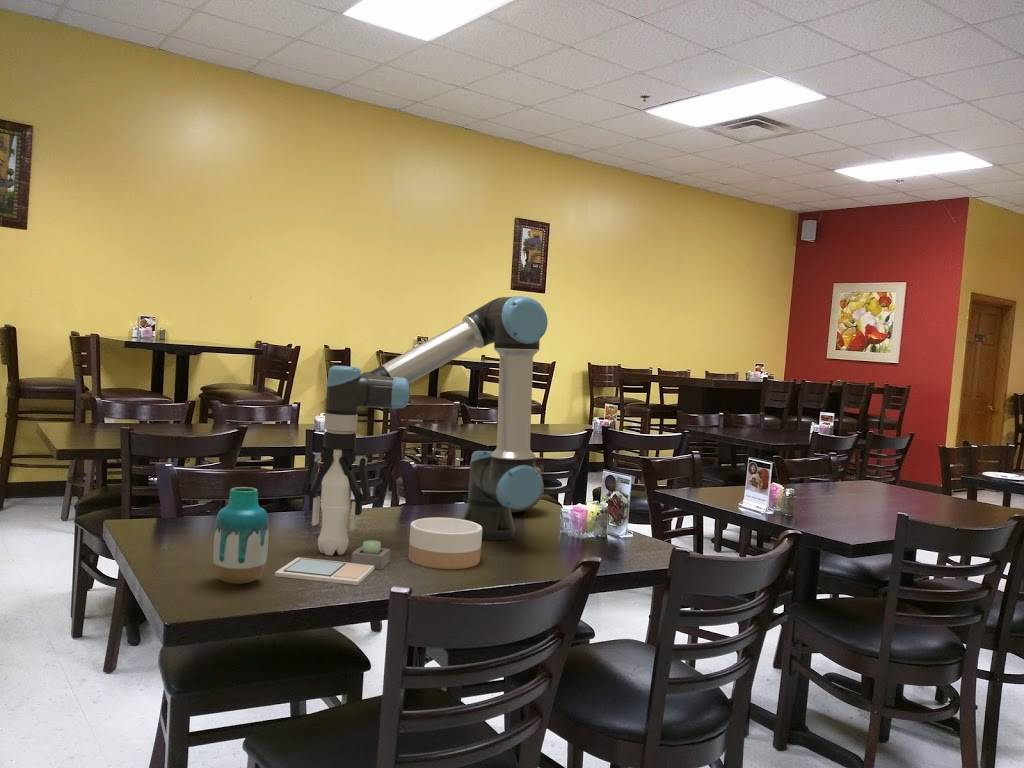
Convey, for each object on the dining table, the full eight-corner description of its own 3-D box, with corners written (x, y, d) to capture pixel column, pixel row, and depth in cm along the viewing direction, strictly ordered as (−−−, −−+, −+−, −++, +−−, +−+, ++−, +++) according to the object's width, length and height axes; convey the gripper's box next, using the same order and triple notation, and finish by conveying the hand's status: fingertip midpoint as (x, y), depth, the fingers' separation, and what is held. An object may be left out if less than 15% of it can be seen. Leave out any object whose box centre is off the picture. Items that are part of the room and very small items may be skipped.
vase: (218, 573, 175) (224, 483, 174) (270, 576, 176) (275, 486, 175) (204, 588, 164) (210, 492, 163) (259, 591, 165) (265, 495, 164)
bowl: (451, 574, 188) (454, 537, 188) (393, 558, 197) (395, 523, 197) (493, 560, 203) (496, 526, 202) (437, 546, 212) (439, 514, 211)
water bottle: (351, 550, 201) (358, 447, 200) (342, 558, 194) (349, 451, 193) (322, 547, 202) (329, 445, 200) (312, 555, 194) (319, 448, 193)
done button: (381, 556, 192) (382, 541, 192) (377, 560, 188) (378, 545, 188) (364, 554, 193) (365, 539, 192) (359, 558, 189) (360, 543, 188)
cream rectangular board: (374, 569, 187) (375, 564, 187) (357, 585, 174) (357, 580, 174) (297, 560, 189) (297, 556, 189) (274, 576, 176) (275, 571, 176)
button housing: (389, 561, 194) (390, 549, 193) (381, 569, 187) (382, 556, 186) (360, 558, 194) (360, 546, 194) (351, 566, 187) (351, 553, 187)
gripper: (388, 433, 199) (382, 527, 200) (302, 426, 201) (296, 518, 202) (380, 437, 191) (373, 534, 192) (290, 429, 194) (284, 525, 195)
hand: (334, 526), depth 197 cm, fingers open, 9 cm apart
